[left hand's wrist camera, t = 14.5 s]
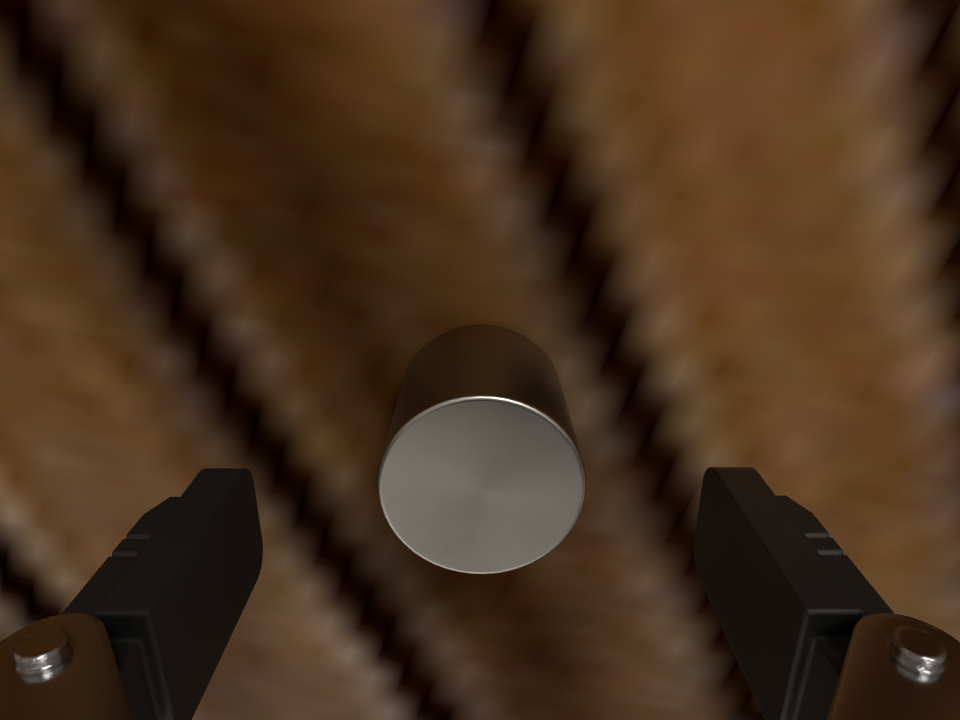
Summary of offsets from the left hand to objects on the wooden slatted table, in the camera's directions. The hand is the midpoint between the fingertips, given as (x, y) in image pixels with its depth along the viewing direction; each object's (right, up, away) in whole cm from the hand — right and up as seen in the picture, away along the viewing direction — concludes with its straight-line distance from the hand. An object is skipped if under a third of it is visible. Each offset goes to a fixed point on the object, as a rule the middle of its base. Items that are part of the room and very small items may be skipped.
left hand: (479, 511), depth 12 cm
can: (0, +2, +4) cm, 5 cm away
